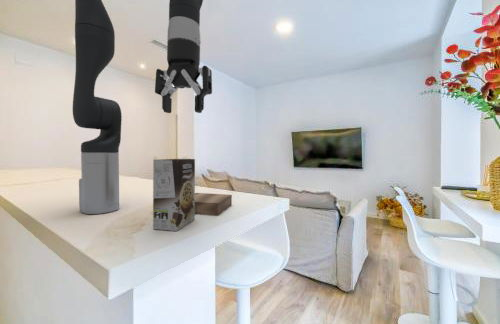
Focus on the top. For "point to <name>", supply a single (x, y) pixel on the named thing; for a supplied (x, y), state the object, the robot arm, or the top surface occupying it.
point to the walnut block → (211, 203)
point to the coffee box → (173, 193)
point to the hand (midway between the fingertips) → (182, 112)
